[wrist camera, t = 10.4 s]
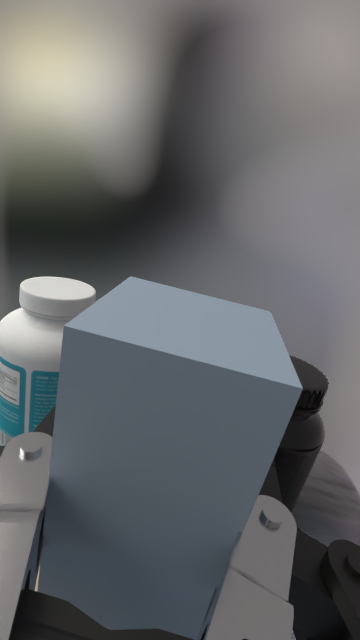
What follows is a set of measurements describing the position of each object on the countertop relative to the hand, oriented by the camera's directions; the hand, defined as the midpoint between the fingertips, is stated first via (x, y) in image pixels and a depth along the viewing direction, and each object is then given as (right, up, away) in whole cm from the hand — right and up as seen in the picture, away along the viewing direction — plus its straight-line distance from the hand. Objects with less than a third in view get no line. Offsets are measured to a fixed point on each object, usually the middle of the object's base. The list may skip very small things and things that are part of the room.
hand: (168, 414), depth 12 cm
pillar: (-2, -6, 0) cm, 7 cm away
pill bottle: (-10, -7, +14) cm, 19 cm away
